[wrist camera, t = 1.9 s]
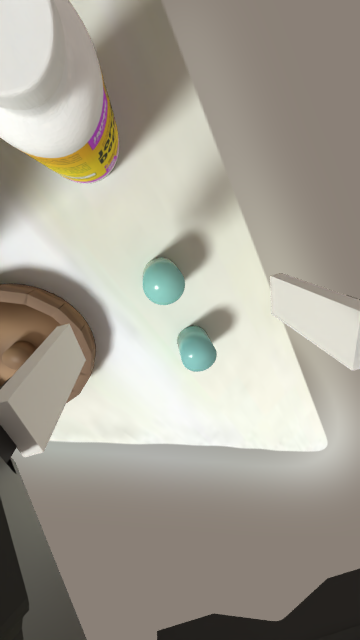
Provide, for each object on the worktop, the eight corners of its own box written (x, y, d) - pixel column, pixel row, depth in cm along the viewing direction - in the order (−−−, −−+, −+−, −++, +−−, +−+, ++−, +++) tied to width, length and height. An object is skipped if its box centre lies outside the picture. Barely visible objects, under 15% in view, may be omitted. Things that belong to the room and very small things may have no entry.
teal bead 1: (138, 262, 24) (137, 269, 20) (175, 253, 24) (180, 259, 20) (148, 296, 25) (148, 309, 22) (182, 288, 25) (188, 299, 22)
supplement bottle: (119, 190, 21) (87, 147, 9) (42, 178, 19) (-110, 110, 8) (121, 98, 18) (79, -128, 6) (32, 77, 17) (-214, -245, 5)
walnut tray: (-85, 302, 22) (-112, 312, 20) (65, 269, 23) (56, 274, 20) (-3, 409, 28) (-16, 426, 26) (112, 380, 29) (109, 394, 27)
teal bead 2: (174, 330, 27) (178, 346, 24) (205, 322, 28) (214, 337, 24) (180, 356, 29) (185, 375, 26) (209, 348, 29) (218, 366, 26)
